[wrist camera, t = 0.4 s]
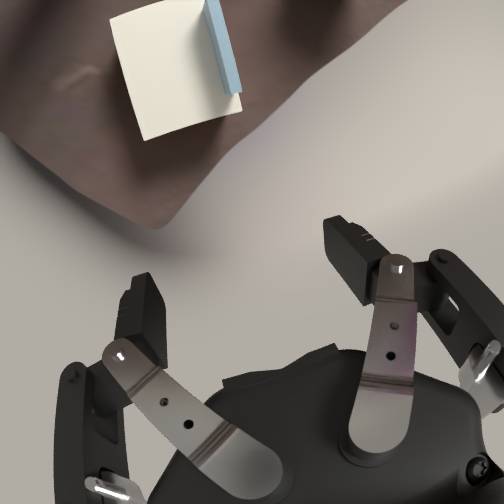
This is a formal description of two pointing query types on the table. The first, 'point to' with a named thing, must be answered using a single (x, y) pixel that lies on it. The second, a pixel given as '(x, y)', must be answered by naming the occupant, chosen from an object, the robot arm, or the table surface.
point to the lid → (177, 64)
